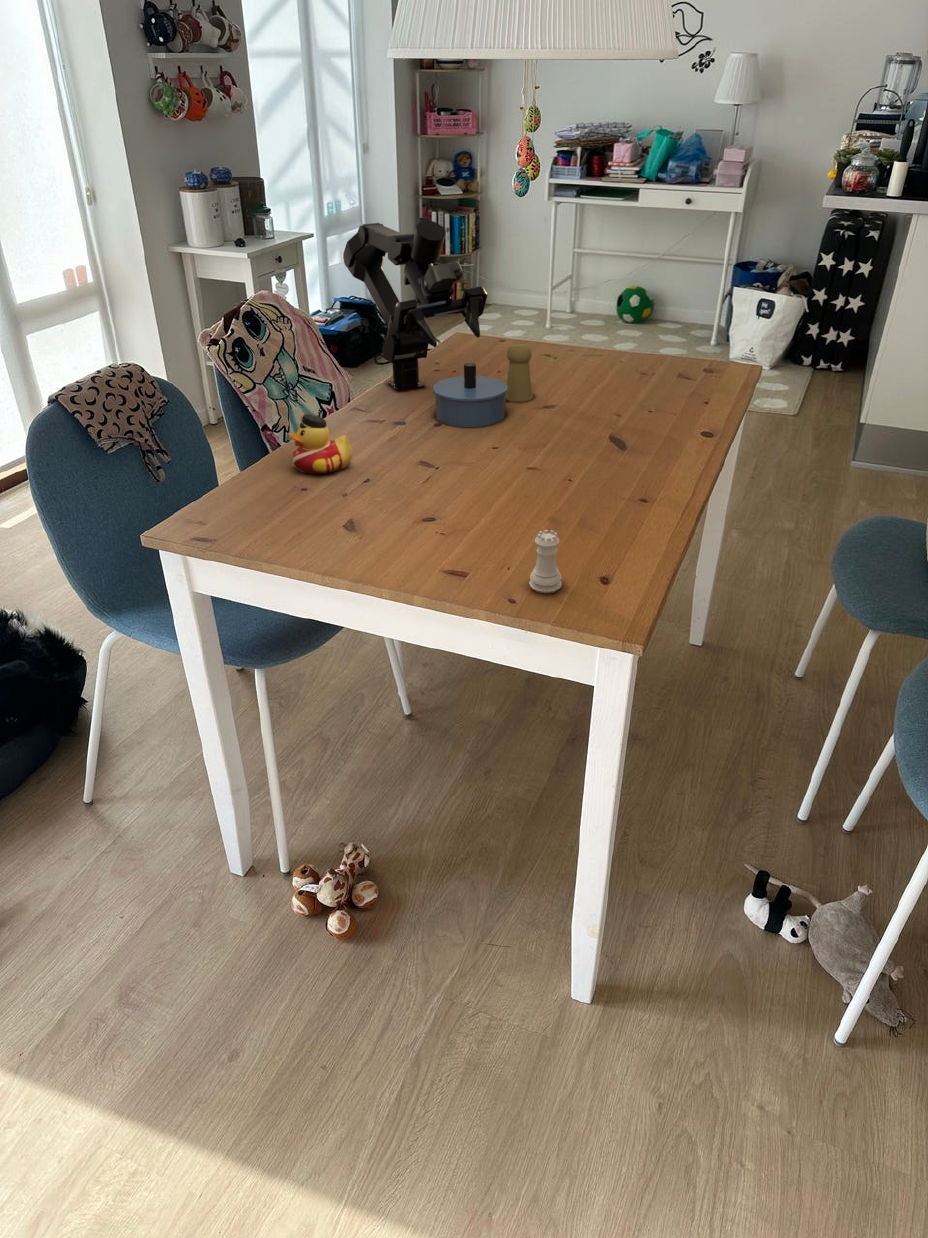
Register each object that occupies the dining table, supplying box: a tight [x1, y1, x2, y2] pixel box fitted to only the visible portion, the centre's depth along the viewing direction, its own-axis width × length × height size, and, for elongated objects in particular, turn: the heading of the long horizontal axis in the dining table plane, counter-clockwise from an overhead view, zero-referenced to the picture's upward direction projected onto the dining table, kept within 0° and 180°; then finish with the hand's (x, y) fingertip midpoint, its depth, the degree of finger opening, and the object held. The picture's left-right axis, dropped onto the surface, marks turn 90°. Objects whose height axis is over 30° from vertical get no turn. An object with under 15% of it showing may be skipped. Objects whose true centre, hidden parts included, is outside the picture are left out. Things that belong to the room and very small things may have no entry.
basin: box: [434, 393, 506, 428], centre depth 178 cm, size 14×14×5 cm
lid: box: [432, 362, 507, 401], centre depth 176 cm, size 15×15×6 cm
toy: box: [288, 413, 353, 475], centre depth 154 cm, size 9×11×10 cm
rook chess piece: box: [528, 529, 563, 594], centre depth 118 cm, size 4×4×8 cm
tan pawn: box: [505, 343, 534, 403], centre depth 186 cm, size 6×6×11 cm
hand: (457, 340), depth 169 cm, fingers open, 9 cm apart
